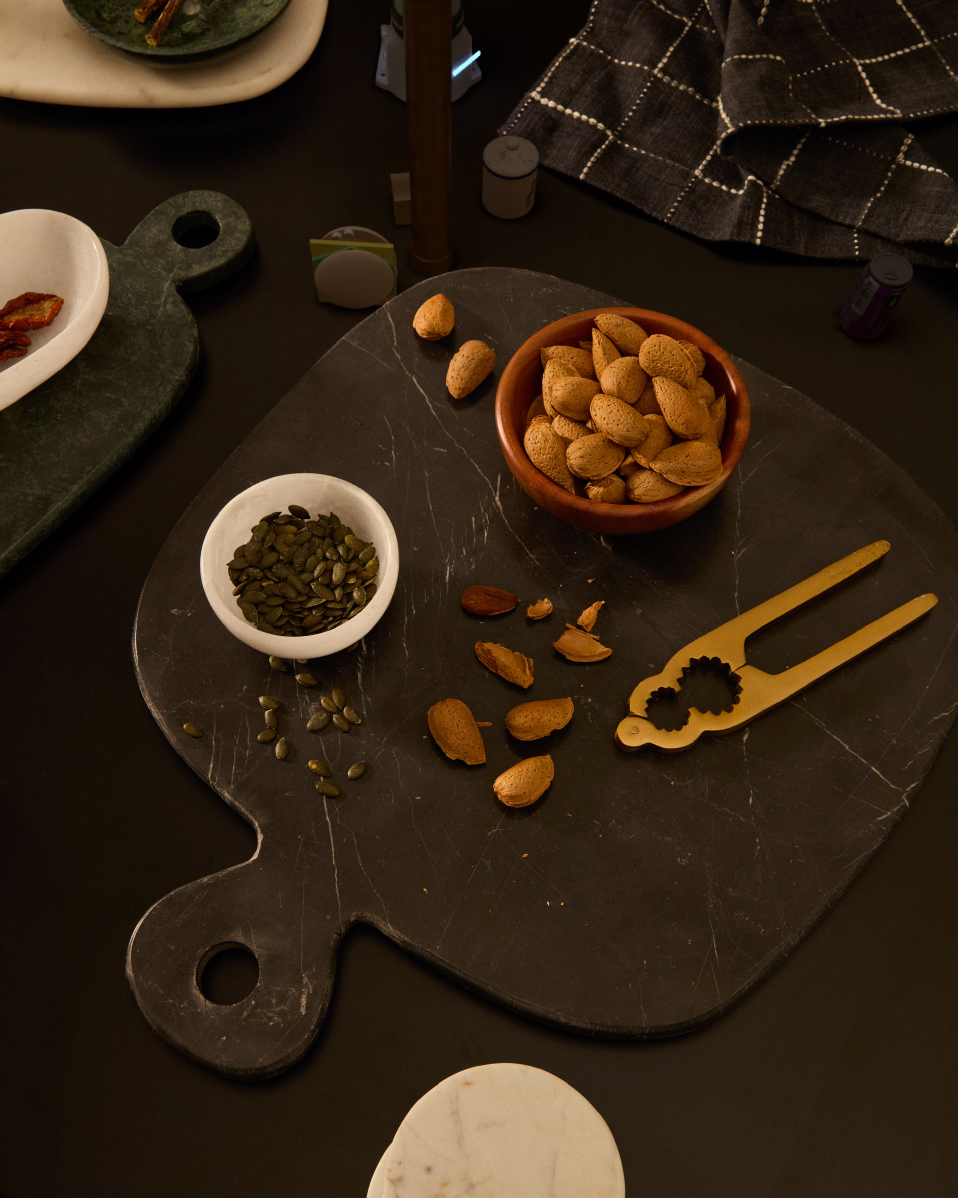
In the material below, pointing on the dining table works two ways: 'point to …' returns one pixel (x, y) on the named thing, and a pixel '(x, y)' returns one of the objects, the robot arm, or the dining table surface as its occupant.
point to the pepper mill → (429, 131)
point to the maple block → (401, 198)
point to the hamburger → (354, 268)
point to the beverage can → (876, 296)
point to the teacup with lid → (509, 176)
